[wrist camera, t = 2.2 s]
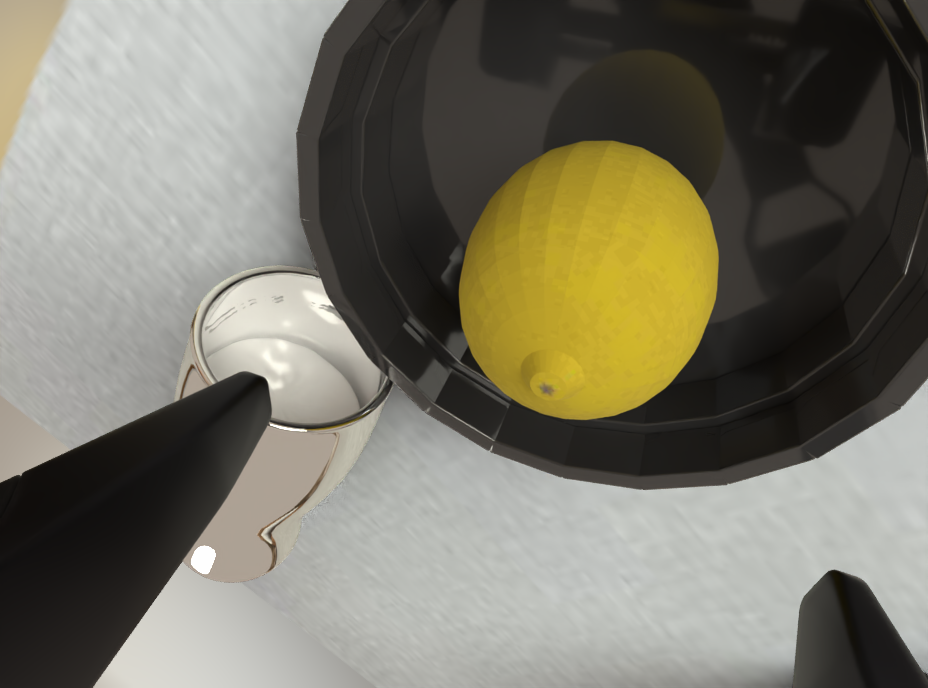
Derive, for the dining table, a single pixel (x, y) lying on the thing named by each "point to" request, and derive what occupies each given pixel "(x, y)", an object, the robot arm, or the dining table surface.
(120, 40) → the dining table surface
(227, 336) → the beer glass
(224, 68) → the dining table surface
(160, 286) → the dining table surface
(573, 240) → the lemon
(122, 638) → the robot arm
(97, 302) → the dining table surface
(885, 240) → the pan
